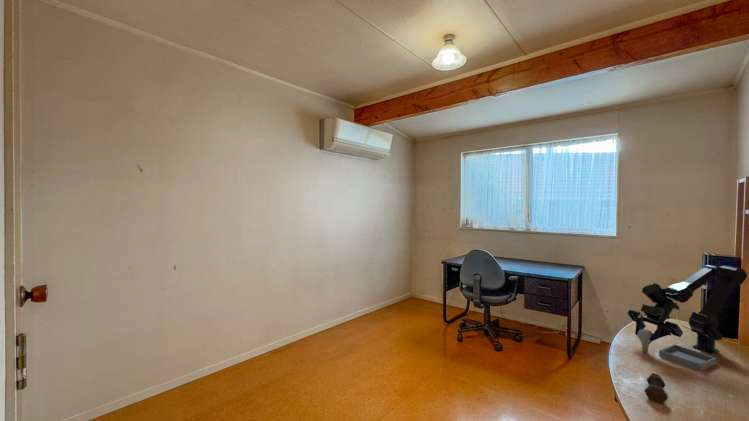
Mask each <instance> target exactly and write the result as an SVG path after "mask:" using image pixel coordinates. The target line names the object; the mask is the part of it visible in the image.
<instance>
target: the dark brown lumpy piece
mask: <svg viewBox="0 0 749 421" xmlns="http://www.w3.org/2000/svg"><path fill="white" fill-rule="evenodd" d="M646 382H647V384H648V386H647V387H646V388H645V389H644V393H645V395H646V397H647V398H648V400H649V401H651V402H653V403H657V404H660V405H663V404H664V403H665V402H666V401H668V399H669V397H668V395H667V393H666V391H665V390H664V388H665V387H666V383H665V381H664V380H663V378H662V376H660V375H659V374H657V373H651V374H650V375H649V376H648V377H646Z"/></svg>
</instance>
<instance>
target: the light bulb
mask: <svg viewBox="0 0 749 421" xmlns="http://www.w3.org/2000/svg"><path fill="white" fill-rule="evenodd" d="M653 334H654V332H652V331H651V330H649V329H646V328H644V329H641V330H639V331H638V334H637V335H636V336H637V337H638V339H639V341H640V343H641V351H642V352H643V353H648V352H649V348H650V347H649V346H650V344H651V343H652V342H653V341H651V340H650V338H651V336H652V335H653Z"/></svg>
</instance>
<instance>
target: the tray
mask: <svg viewBox="0 0 749 421" xmlns="http://www.w3.org/2000/svg"><path fill="white" fill-rule="evenodd" d="M658 356H659V357H661V358H663V359H666V360H669V361H672V362H674V363H677V364H680V365H683V366H685V367H688V368H691V369H693V370H696V371H699V372H703V371H704V370H707V369H709V368H711V367H713V366H715V365H716V364H717V357H714V356H712V355H709V354H705V353H703V352H699V351H697V350H694V349H691V348H687V347H684V346H682V345H679V344H675V343H674V344H672V345H669V346H667V347H664V348H661V349H659V350H658Z"/></svg>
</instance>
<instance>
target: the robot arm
mask: <svg viewBox="0 0 749 421" xmlns="http://www.w3.org/2000/svg"><path fill="white" fill-rule="evenodd" d="M714 278H716V284H715V286H714V288H713V290H712V291H711V293H710V295H709V297H708V298H707V300H706V302H705V304H704V305H703V308H702V309H701V310H699V311H698V312H696V311H693V312H692V313H691V316H690V317H689V318H688V325H689V327H690V330H691V332H694V333H696V344H694V345H692V347H693V348H694V349H697V350H701V351H704V352H706V353H710V354H714V353H716V352H719V349H718V348H716V341H719V340H720V341H722V339H723V337H724V334H722V332H721V331H720V330H719V329H718V326H719V322H718V318H717V317H718V315H719V314H720V312H721V310H722V308H723V307H724V305H725V303H726V301H727V300H728V298H729V297H730V295H731V293H732V291H733V290H734V288H736V287H739V286H740V285H742V284H743V283H744V282H745V280H746V279H747V278H748V274H747V272H746V270H745V269H743V268H740V267H736V266H731V265H725V264H724V265H720V266H717V265H711V264H706V265H704V266H703V268H701V269H700V270H698V271H696V272H695V273H694V274H693V275H690V277H688V278H686V279H685V280H683V281H681V282H677V283H672V284H670V285H669V286H667V287H666V288H662V287H661V286H660V285H659V283H656V282H653V283H652V284H648V285H646V286H643V288H642V289H641V292H642V293H643V295H645V296H646V298H647V299H649V301H651V302H652V303H654V305H651V306H650V305H647V304H645V303H643V304H642V305H641V307H640V308H641V309H640V311H637V310H634V309H629V310H627V312H626V315H628V317H629V318H630V320H631V321H633V322H635V331H634V334H635V336H638V335H637V334H638V331H639V330H641V329H646V327H647V325H646V324H645V322H646V323H648V324H651V325H655V326H656V329H655V330H654V332H653V335H652V336H651V338H650V340H651V341H652V342H654V341H656V340H658V339H661V338H664V337H667V336H675V337H678V338H681V337H682V336H683V334H684V333H683V330H682V329H681V327H680V326H679V324H678V323H674V322H671V321H667V320H670V319H671V317H670V315H671V313H672V311H673V310H680V307H679V305H678V303H677V302H679V303H682V304H683V303H687V302H688V301H689V300H690V299H691V298H692V297H693V296H694V292H695V291H697V290H698V289H699V288H701V287H702V286H704V285H705V284H707V283H709V281H711V280H712V279H714ZM675 301H676V302H675ZM641 312H643V314H644V315H645V316H643V314H642V313H641Z"/></svg>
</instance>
